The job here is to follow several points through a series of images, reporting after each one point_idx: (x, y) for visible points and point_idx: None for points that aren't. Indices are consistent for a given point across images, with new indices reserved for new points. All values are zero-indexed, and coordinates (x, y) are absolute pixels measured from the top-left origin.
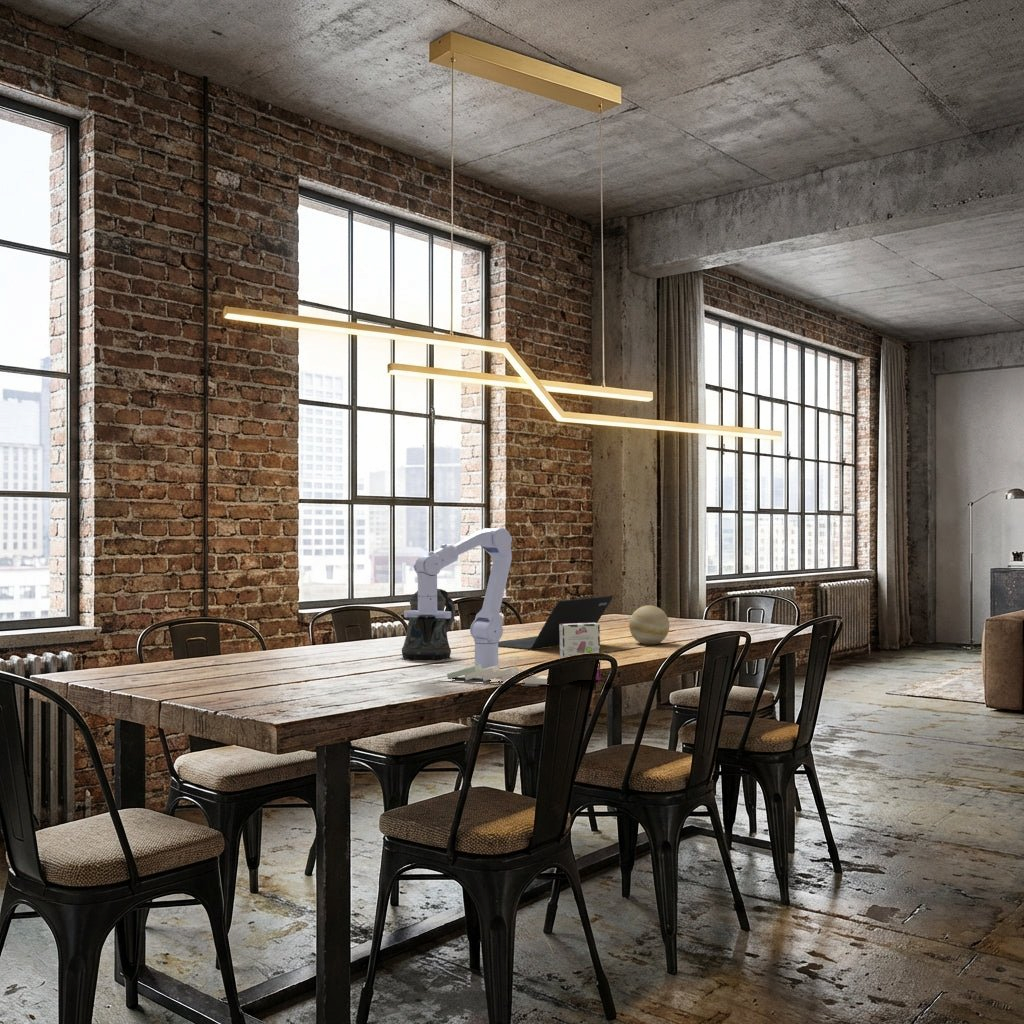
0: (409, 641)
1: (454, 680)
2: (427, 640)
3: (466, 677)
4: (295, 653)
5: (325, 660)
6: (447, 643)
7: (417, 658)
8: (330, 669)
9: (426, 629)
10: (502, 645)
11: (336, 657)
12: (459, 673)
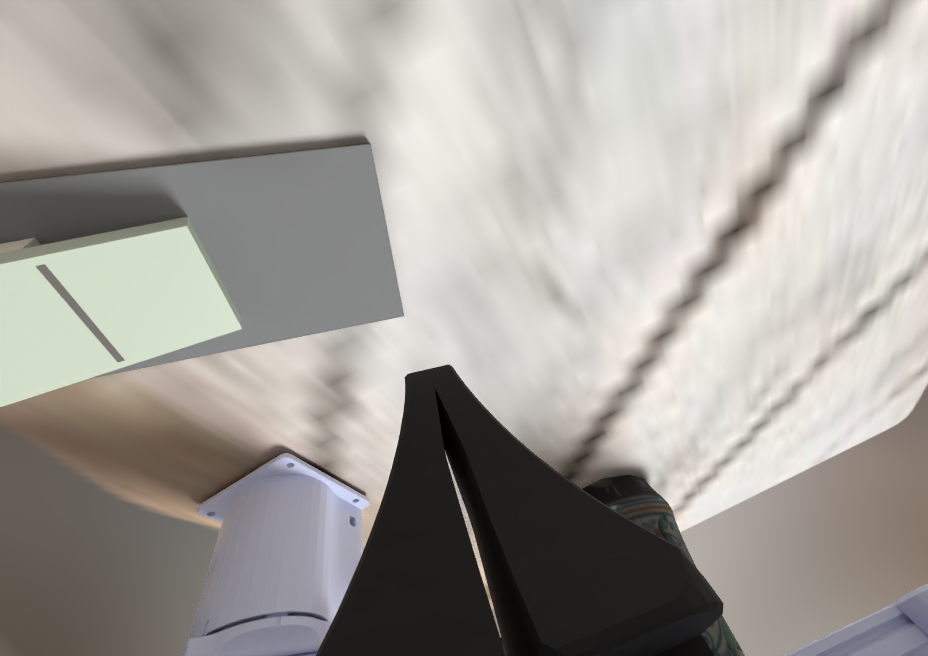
0: (666, 536)
1: (93, 188)
2: (413, 385)
3: (13, 244)
4: (887, 418)
5: (836, 385)
6: None
7: (607, 491)
8: (843, 259)
9: (437, 485)
10: (503, 646)
11: (806, 428)
12: (63, 245)
